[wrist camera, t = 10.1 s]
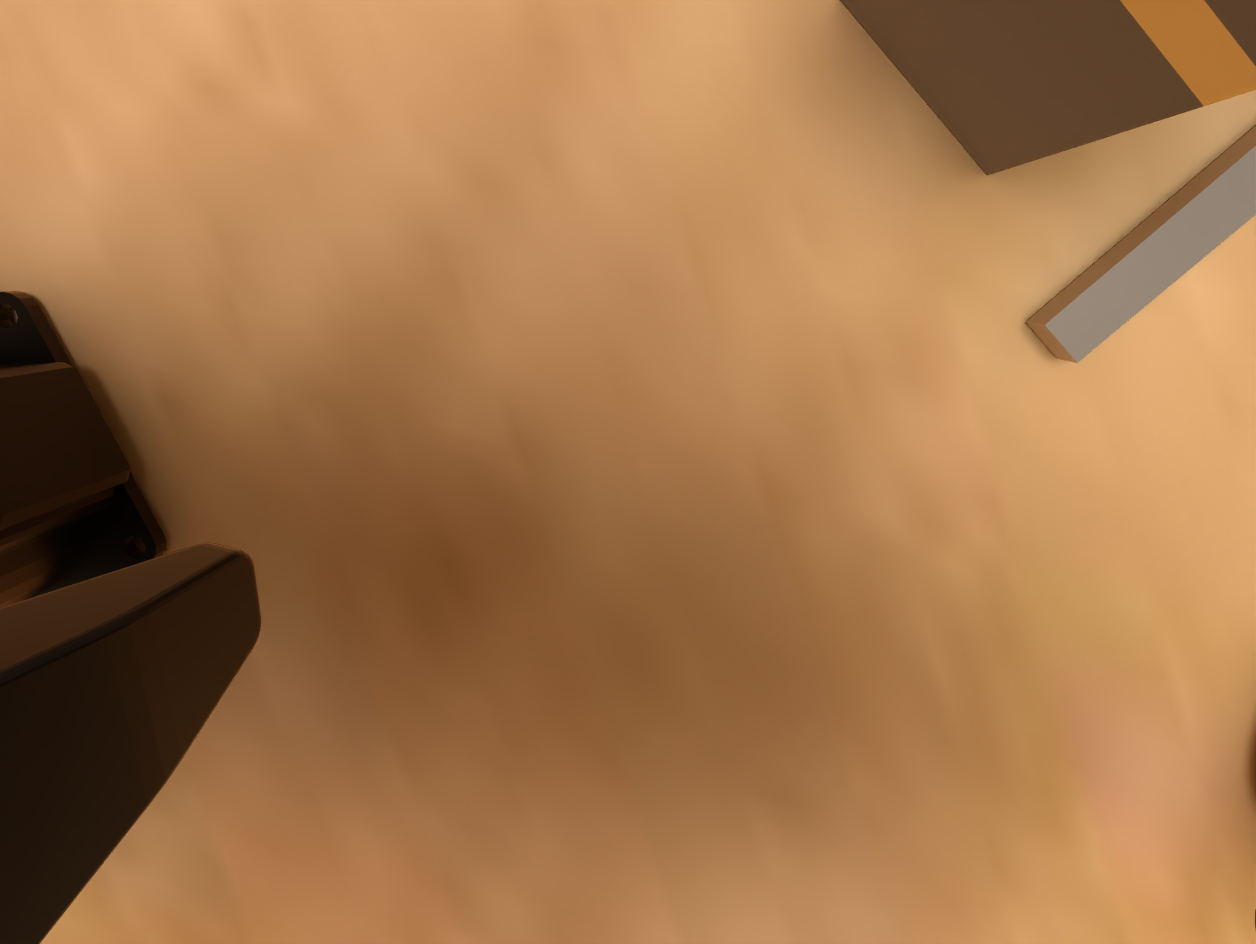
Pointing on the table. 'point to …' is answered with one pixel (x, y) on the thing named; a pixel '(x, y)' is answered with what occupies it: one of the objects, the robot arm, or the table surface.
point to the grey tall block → (1062, 65)
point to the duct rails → (1152, 255)
